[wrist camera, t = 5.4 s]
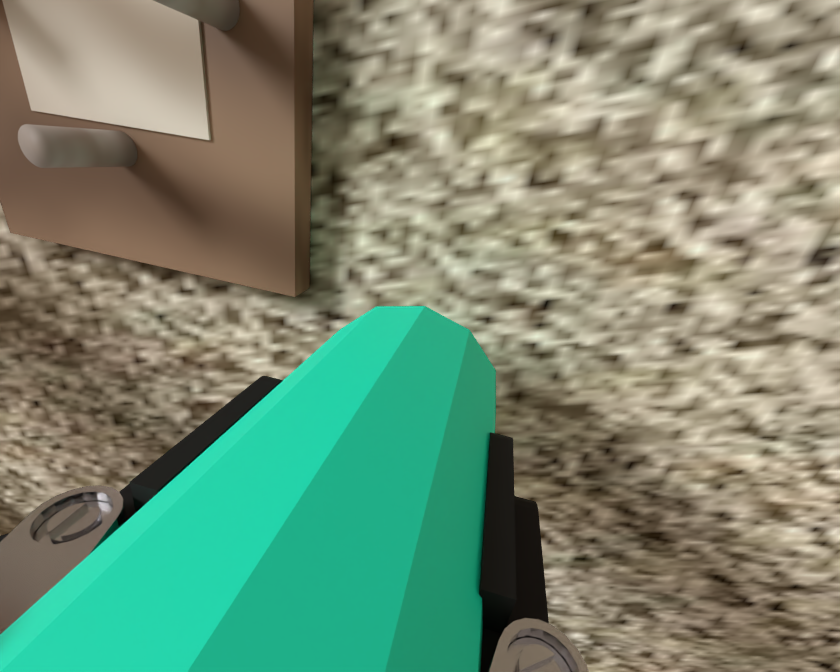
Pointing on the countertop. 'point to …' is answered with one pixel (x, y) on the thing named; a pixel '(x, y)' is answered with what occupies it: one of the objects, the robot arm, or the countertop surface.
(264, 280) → the brown pegged board
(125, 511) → the robot arm
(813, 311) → the countertop surface
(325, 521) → the candle
